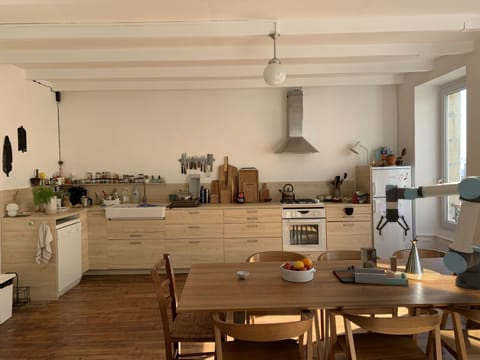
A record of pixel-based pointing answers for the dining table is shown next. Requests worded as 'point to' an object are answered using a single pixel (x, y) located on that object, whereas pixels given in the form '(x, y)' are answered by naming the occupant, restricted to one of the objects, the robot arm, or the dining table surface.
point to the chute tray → (398, 280)
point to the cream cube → (398, 275)
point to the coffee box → (368, 258)
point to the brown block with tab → (393, 263)
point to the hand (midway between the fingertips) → (392, 240)
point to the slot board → (370, 275)
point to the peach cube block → (389, 274)
